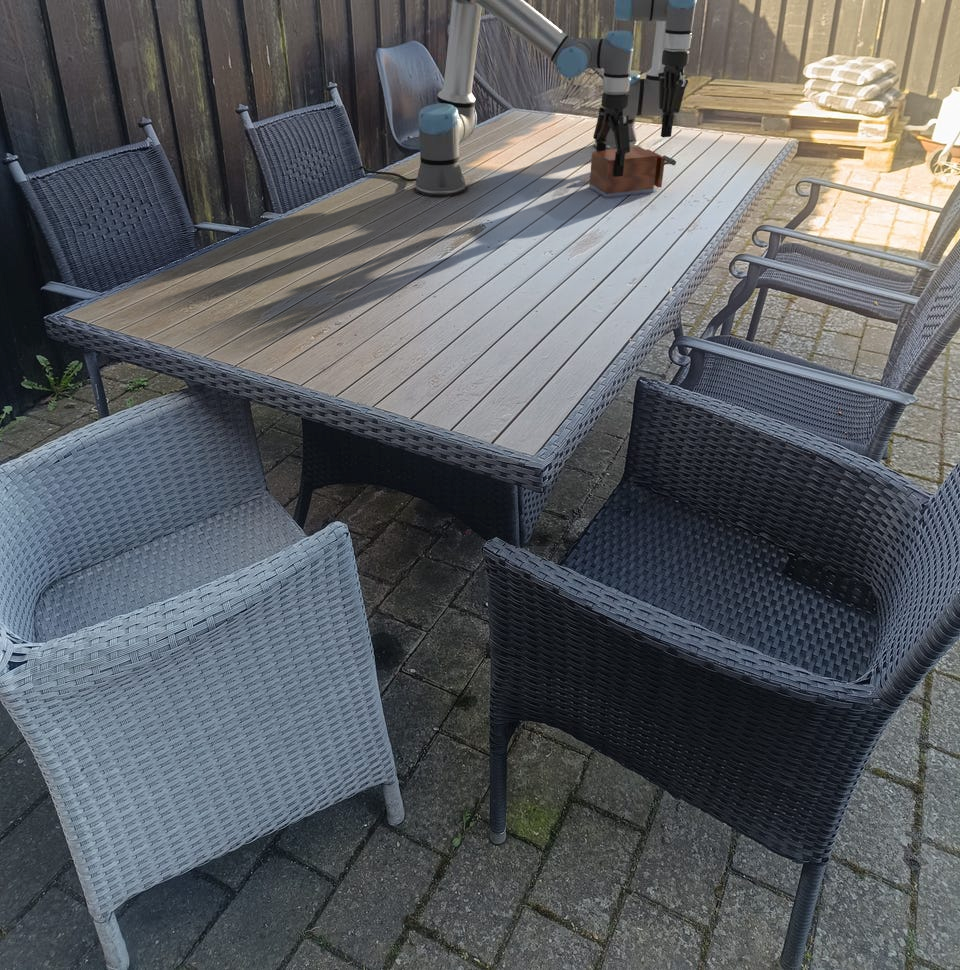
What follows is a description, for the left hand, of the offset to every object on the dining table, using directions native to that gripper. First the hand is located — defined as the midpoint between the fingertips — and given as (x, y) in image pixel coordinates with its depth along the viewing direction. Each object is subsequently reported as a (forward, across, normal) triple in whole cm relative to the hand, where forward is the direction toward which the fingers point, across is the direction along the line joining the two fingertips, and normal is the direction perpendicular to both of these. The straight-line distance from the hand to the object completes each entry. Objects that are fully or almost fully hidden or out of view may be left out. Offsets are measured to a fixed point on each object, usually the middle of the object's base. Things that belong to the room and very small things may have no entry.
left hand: (608, 170), depth 254 cm
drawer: (+5, 0, -11) cm, 12 cm away
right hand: (-8, 0, -18) cm, 20 cm away
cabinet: (+6, 0, -5) cm, 8 cm away
